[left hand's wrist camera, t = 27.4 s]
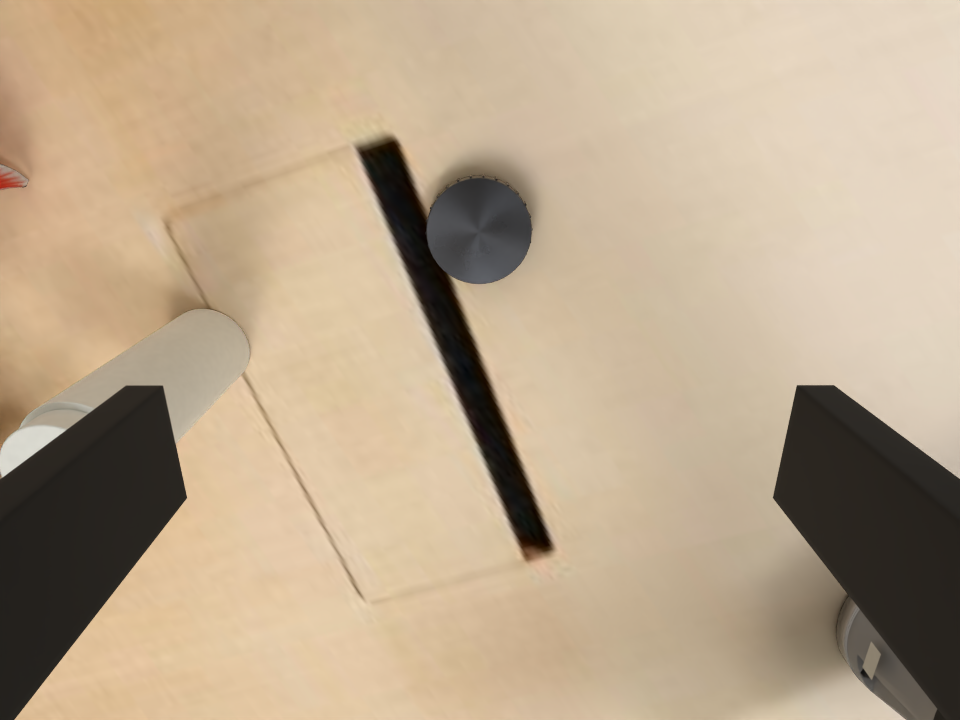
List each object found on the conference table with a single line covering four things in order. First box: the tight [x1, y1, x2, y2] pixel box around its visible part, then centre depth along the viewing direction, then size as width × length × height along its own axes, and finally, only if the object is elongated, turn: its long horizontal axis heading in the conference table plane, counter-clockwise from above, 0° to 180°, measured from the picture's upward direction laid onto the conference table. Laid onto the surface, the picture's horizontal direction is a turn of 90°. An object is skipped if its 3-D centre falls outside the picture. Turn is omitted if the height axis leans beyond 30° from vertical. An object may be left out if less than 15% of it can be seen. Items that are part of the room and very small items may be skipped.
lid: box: [426, 174, 532, 284], centre depth 36 cm, size 6×6×2 cm
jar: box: [0, 309, 250, 477], centre depth 33 cm, size 5×5×16 cm
